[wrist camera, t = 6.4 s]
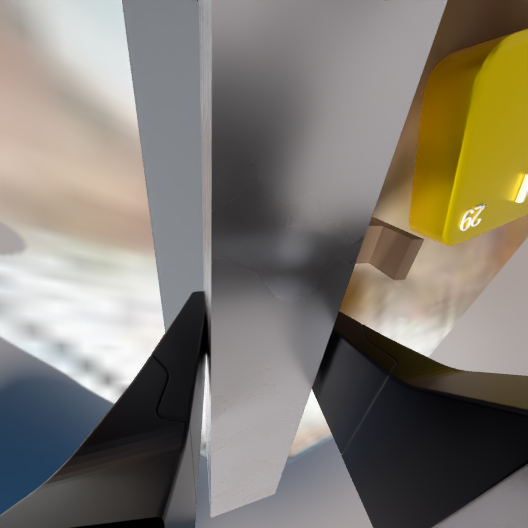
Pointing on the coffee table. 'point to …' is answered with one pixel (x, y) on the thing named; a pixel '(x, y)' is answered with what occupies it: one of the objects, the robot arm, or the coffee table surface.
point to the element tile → (473, 142)
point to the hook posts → (389, 249)
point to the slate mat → (170, 138)
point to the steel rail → (289, 202)
